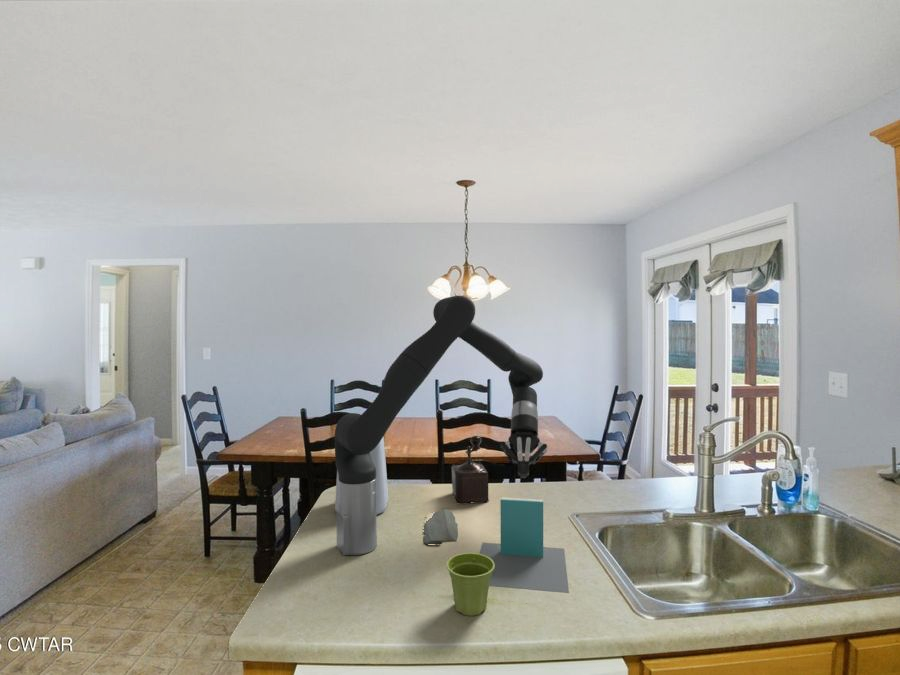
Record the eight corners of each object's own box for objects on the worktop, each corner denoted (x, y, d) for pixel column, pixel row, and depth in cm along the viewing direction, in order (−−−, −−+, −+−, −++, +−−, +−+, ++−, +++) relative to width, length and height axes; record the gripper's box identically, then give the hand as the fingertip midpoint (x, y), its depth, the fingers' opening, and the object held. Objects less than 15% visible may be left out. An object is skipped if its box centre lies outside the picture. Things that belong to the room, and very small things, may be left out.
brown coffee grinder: (491, 502, 153) (491, 445, 153) (456, 504, 152) (456, 446, 151) (480, 486, 169) (480, 434, 168) (449, 488, 167) (448, 435, 167)
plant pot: (498, 620, 92) (498, 574, 92) (448, 623, 91) (448, 577, 91) (490, 593, 101) (490, 551, 101) (445, 595, 101) (444, 553, 100)
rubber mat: (568, 596, 100) (568, 592, 100) (471, 587, 103) (471, 583, 103) (564, 551, 120) (564, 548, 119) (482, 545, 123) (482, 542, 123)
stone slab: (424, 552, 123) (463, 545, 124) (423, 541, 123) (462, 534, 124) (421, 518, 145) (454, 512, 146) (419, 509, 145) (453, 503, 146)
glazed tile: (543, 557, 115) (543, 502, 115) (500, 554, 117) (500, 500, 117) (543, 553, 117) (543, 499, 116) (501, 550, 119) (501, 497, 118)
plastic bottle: (389, 498, 157) (388, 411, 156) (384, 516, 142) (383, 420, 141) (342, 499, 157) (341, 412, 156) (332, 517, 142) (331, 421, 141)
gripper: (500, 412, 137) (496, 468, 126) (548, 413, 135) (549, 470, 123) (501, 427, 143) (498, 482, 131) (548, 428, 140) (549, 484, 129)
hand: (523, 476), depth 127 cm, fingers closed
